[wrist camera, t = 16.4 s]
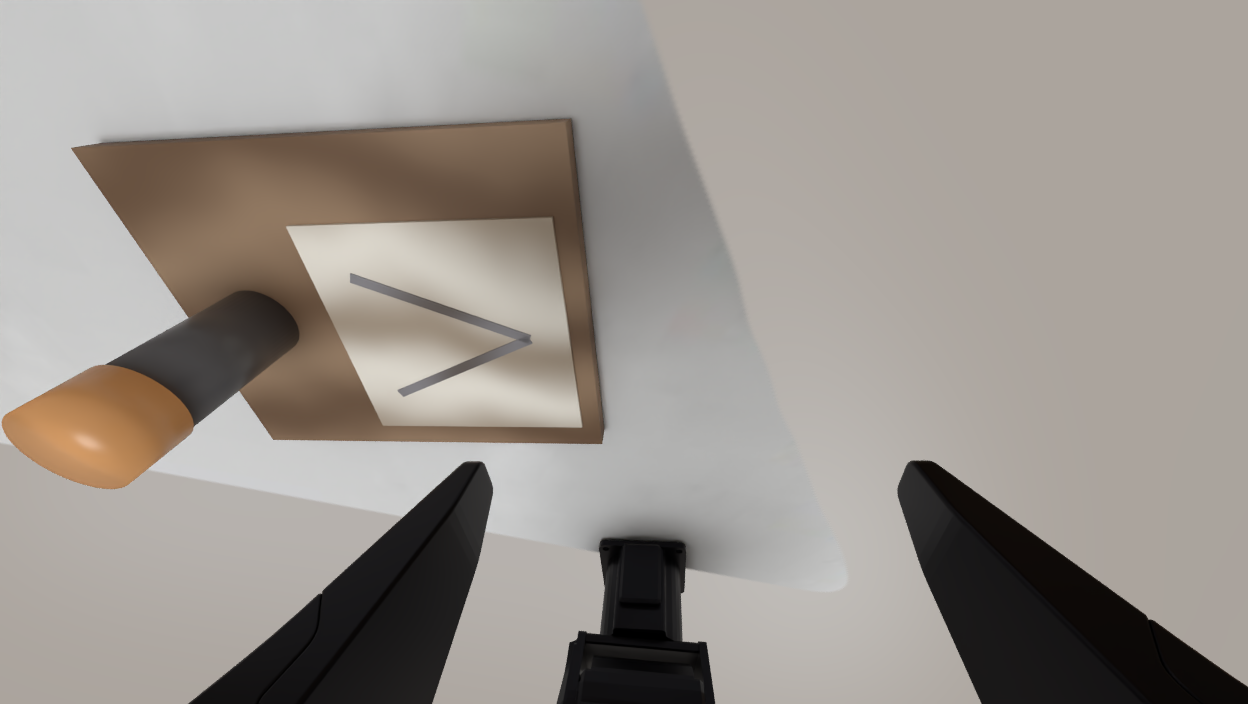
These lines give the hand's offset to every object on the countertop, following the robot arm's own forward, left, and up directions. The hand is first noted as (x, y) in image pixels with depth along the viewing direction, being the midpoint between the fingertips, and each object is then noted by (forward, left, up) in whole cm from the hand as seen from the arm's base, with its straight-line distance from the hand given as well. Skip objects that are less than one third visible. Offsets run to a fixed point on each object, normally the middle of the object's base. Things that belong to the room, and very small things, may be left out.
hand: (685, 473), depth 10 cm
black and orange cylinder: (-3, +21, -12) cm, 24 cm away
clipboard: (-3, +15, -13) cm, 20 cm away
